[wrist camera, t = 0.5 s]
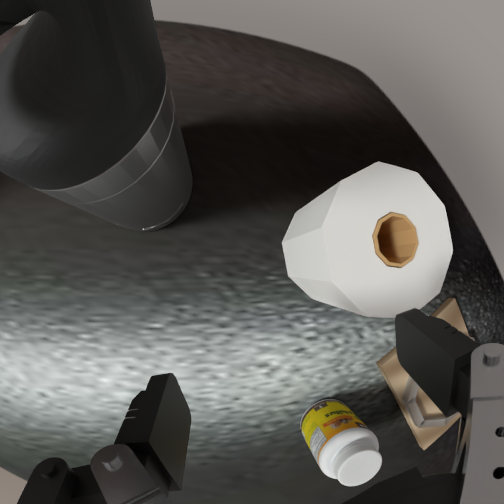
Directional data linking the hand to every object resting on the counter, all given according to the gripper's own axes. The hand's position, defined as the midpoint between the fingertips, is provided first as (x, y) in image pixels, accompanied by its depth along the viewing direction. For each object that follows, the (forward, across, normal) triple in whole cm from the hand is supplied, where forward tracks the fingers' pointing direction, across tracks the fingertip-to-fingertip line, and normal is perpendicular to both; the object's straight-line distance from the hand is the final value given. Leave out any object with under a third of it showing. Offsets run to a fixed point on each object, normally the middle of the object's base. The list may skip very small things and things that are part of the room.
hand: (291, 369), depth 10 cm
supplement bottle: (+16, -3, +19) cm, 25 cm away
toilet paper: (+21, -8, +2) cm, 22 cm away
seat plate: (+17, -18, +20) cm, 32 cm away
